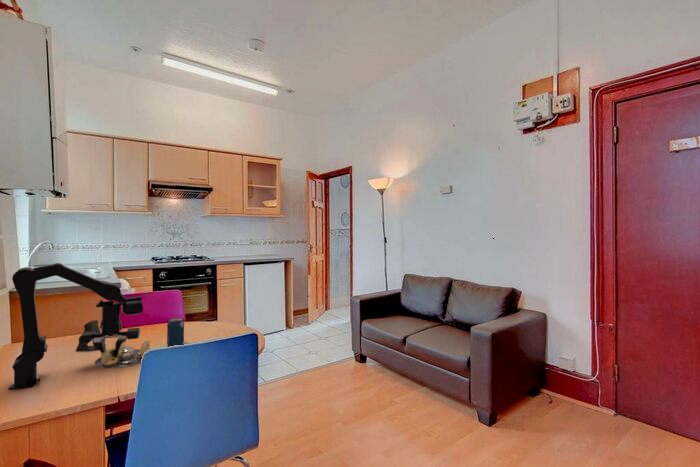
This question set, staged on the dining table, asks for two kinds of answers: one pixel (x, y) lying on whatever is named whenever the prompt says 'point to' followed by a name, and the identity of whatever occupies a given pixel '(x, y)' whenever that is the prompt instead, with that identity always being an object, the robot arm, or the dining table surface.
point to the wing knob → (109, 358)
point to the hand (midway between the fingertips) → (110, 357)
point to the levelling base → (122, 363)
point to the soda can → (175, 332)
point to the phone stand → (84, 347)
